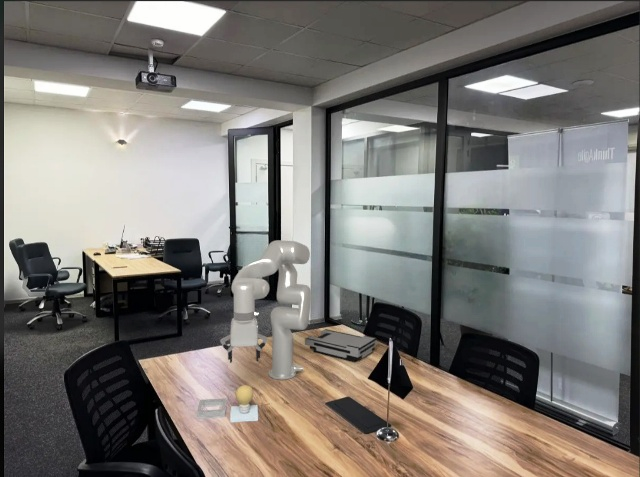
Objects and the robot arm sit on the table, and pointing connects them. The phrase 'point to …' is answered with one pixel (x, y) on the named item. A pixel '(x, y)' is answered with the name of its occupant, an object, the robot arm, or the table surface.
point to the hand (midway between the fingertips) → (244, 360)
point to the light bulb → (244, 398)
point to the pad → (244, 414)
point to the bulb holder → (211, 413)
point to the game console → (342, 345)
